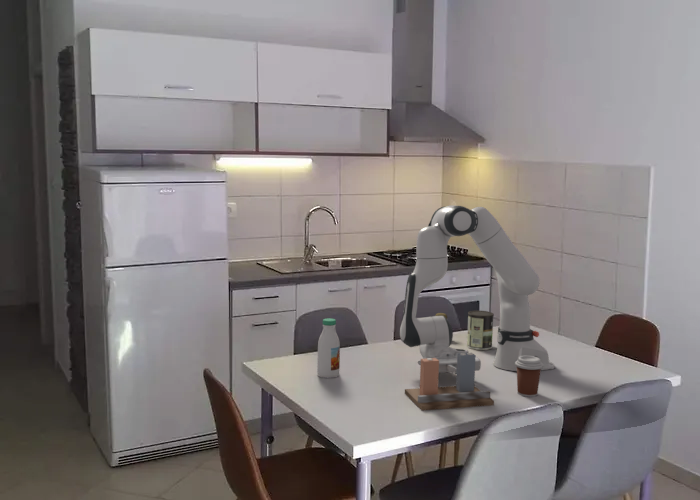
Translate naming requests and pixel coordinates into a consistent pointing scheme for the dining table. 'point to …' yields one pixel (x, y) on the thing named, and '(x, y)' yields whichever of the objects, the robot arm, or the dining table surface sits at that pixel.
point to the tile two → (465, 372)
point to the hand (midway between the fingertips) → (459, 371)
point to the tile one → (429, 376)
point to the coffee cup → (528, 375)
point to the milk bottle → (328, 350)
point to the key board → (450, 398)
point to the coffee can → (480, 330)
